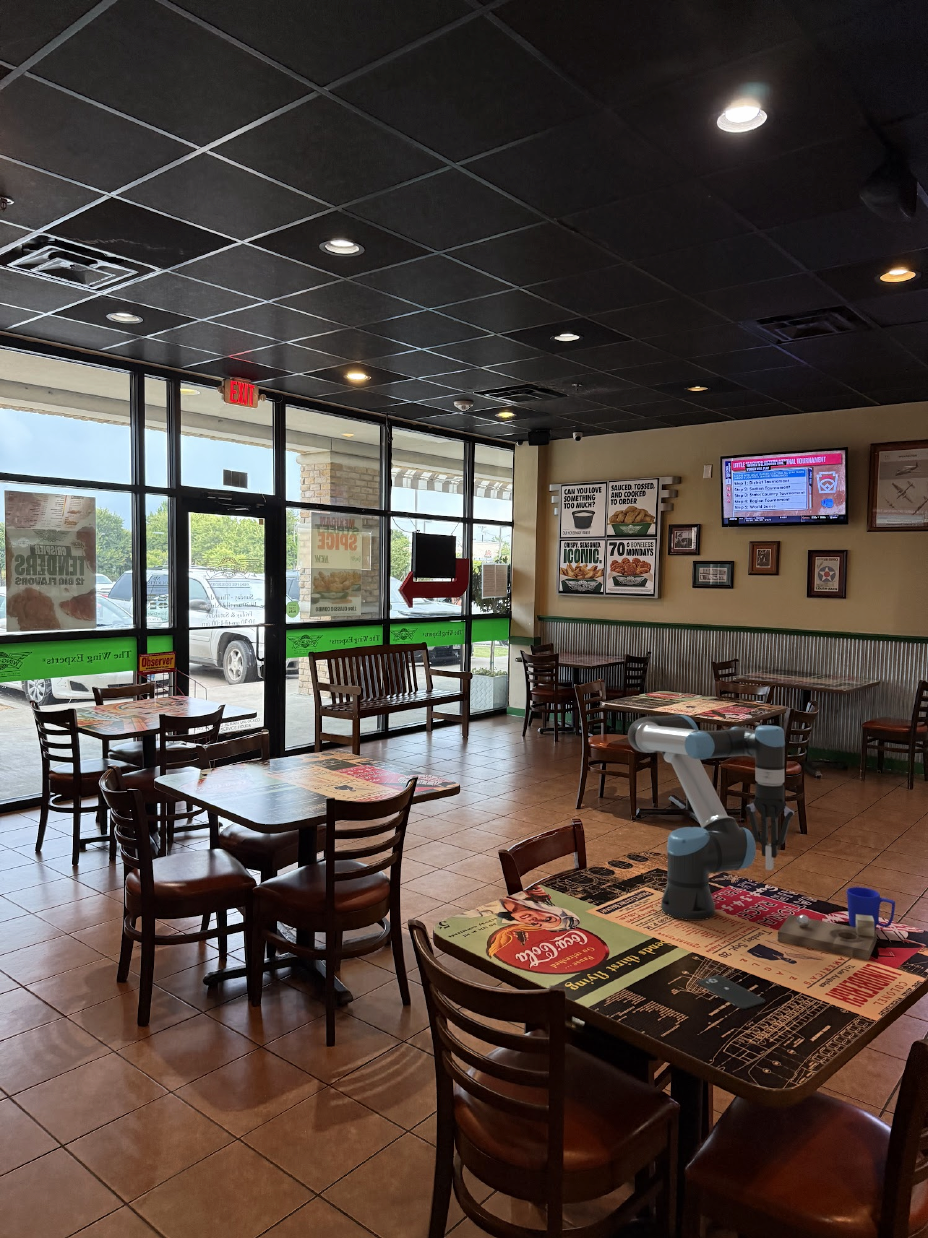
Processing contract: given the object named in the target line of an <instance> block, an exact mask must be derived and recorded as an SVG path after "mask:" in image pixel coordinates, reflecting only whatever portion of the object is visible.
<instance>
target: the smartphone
mask: <svg viewBox="0 0 928 1238" xmlns="http://www.w3.org/2000/svg"><path fill="white" fill-rule="evenodd" d="M696 984H697V985H699V986H700V987H701V988H704V989H706V990H707V991H709V992H710V993H712V994H714V995H716V996H718V997H719V998H721V999H723V1000H725V1001H726V1002H728V1003H730V1004H732V1005H733V1006H735V1007H737V1008H739V1009H740V1010H747V1009H750V1008H753V1007H757V1006H759V1005H763V1004H765V1003H766V999H765V998H764V997H762V996H759V995H757V994H756V993H754V992H752V991H751V990H748V989H747V988H745V987H742V986H741V985H740V984H737V983H736V982H734V981H732V980H730V979H728V978H726V977H725V976H722V975H721V974H716V975H713V976H709V977H705V978H702V979H699V980H697V981H696Z"/></svg>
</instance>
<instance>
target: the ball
mask: <svg viewBox="0 0 928 1238" xmlns="http://www.w3.org/2000/svg"><path fill="white" fill-rule="evenodd" d="M797 916H798V918H797V923H798V925H799V926H801V927H807V926H808V925H809V923H810V920H809V919H810V917H808V916H807V915H806V914H800V915H797Z"/></svg>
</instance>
